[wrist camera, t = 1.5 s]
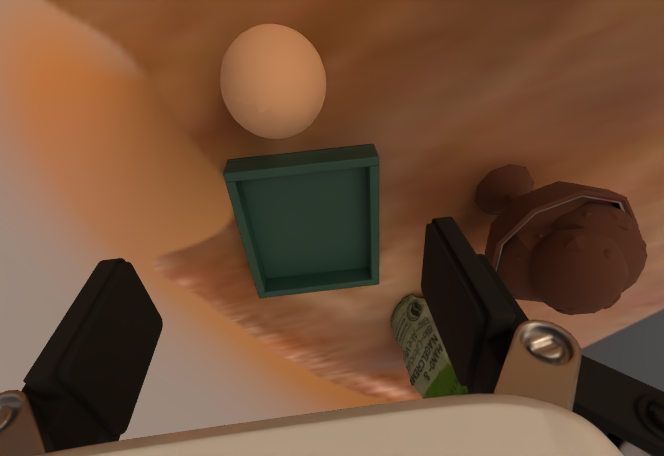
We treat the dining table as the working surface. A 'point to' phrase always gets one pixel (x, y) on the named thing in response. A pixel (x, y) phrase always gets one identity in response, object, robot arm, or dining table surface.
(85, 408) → the robot arm
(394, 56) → the dining table surface
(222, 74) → the egg
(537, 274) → the ice cream bowl
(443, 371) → the pouch
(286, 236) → the tray
